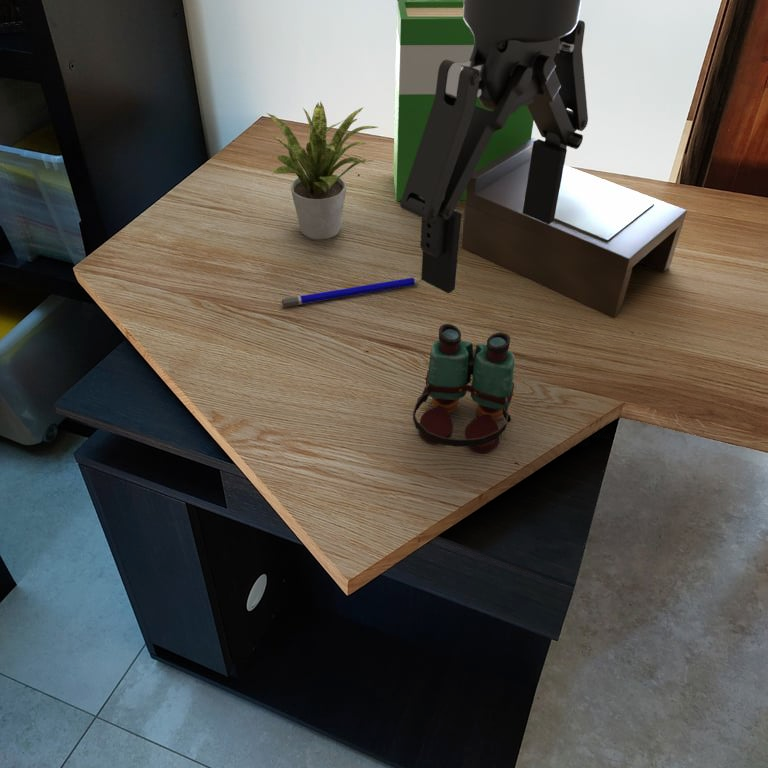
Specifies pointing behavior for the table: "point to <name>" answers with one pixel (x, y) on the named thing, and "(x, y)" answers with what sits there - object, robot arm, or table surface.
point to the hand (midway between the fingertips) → (490, 249)
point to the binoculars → (467, 389)
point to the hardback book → (419, 80)
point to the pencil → (349, 291)
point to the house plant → (318, 173)
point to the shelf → (569, 230)
